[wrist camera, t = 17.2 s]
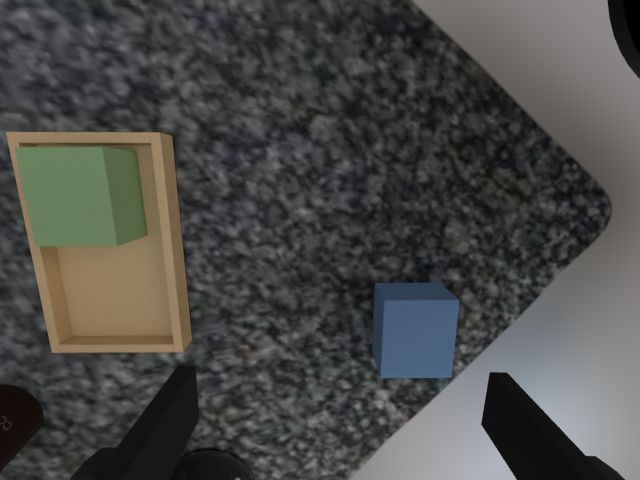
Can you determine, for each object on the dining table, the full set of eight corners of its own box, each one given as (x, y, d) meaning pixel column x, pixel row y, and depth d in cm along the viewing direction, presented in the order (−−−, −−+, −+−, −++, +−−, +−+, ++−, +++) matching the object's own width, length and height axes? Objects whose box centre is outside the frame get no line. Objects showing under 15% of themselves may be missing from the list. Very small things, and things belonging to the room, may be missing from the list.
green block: (137, 151, 24) (102, 146, 20) (147, 235, 26) (117, 246, 22) (62, 151, 24) (13, 147, 20) (77, 236, 26) (34, 246, 22)
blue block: (439, 282, 27) (460, 300, 23) (433, 350, 29) (451, 378, 25) (374, 282, 27) (384, 300, 23) (371, 351, 29) (380, 378, 25)
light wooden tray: (172, 135, 24) (159, 132, 23) (192, 340, 28) (183, 352, 26) (30, 135, 24) (5, 131, 22) (70, 340, 28) (51, 353, 26)
